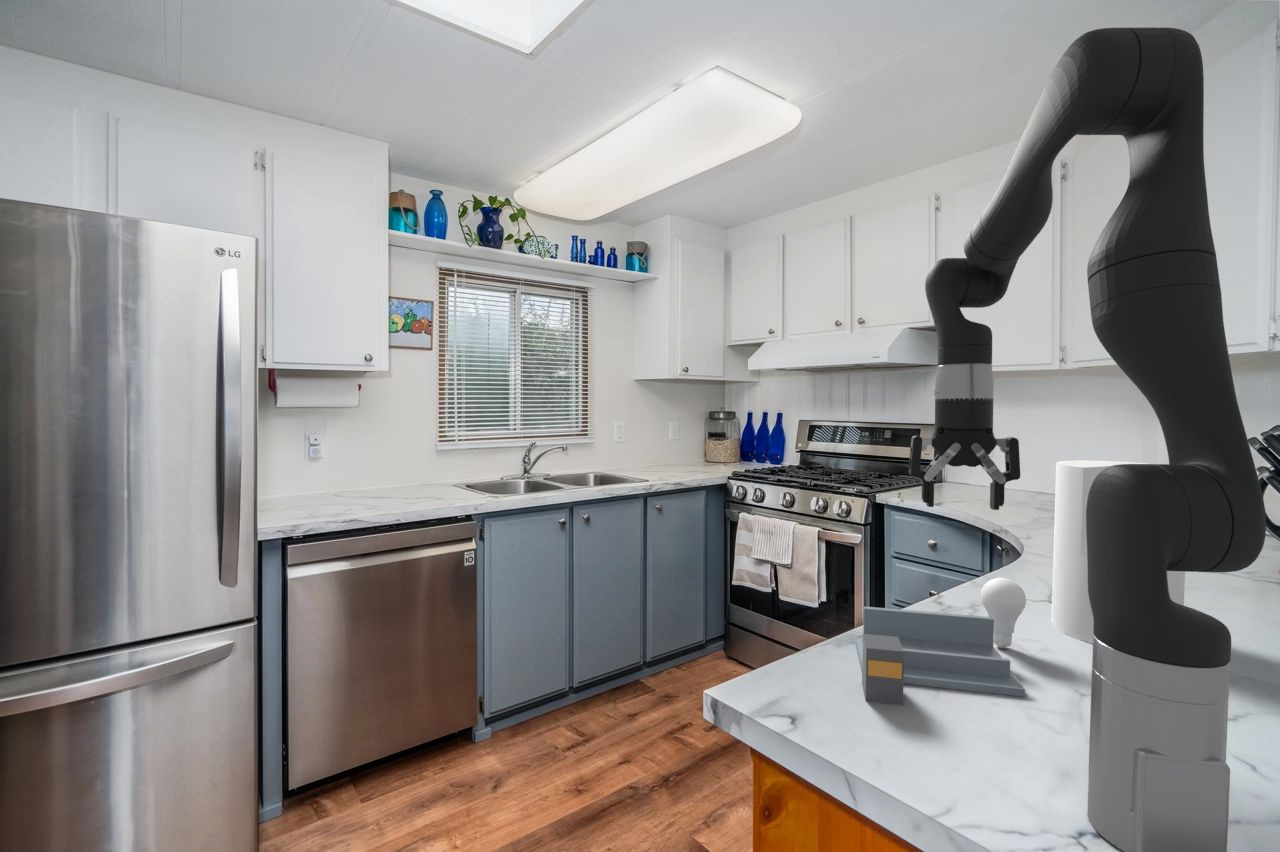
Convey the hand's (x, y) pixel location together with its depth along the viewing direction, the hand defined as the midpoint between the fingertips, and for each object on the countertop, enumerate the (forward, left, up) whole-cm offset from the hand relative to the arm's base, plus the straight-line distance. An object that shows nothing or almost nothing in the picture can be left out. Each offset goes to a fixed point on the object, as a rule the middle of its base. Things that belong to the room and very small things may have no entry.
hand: (961, 507), depth 90 cm
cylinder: (+20, -28, -23) cm, 41 cm away
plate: (-2, +4, -22) cm, 23 cm away
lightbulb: (+8, -8, -23) cm, 26 cm away
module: (-13, +12, -23) cm, 29 cm away
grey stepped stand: (-3, +4, -23) cm, 24 cm away
